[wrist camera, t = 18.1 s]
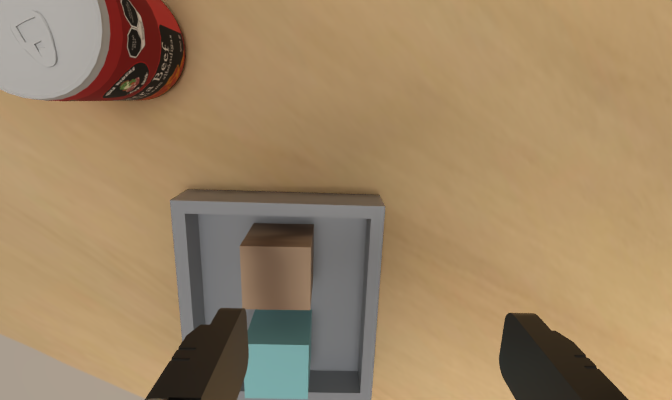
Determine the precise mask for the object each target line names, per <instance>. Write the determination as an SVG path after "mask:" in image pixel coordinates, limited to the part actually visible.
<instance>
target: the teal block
mask: <svg viewBox="0 0 672 400" xmlns="http://www.w3.org/2000/svg"><path fill="white" fill-rule="evenodd" d="M311 329H312V309H310V310H259V309H255V311H254V314H253V317H252V320H251V322H250V325H249V328H248V348H249V358H248V367H247V371H246V375H245V378H244V389H245V398H265V399H308V390H309V377H310V363H311Z"/></svg>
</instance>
